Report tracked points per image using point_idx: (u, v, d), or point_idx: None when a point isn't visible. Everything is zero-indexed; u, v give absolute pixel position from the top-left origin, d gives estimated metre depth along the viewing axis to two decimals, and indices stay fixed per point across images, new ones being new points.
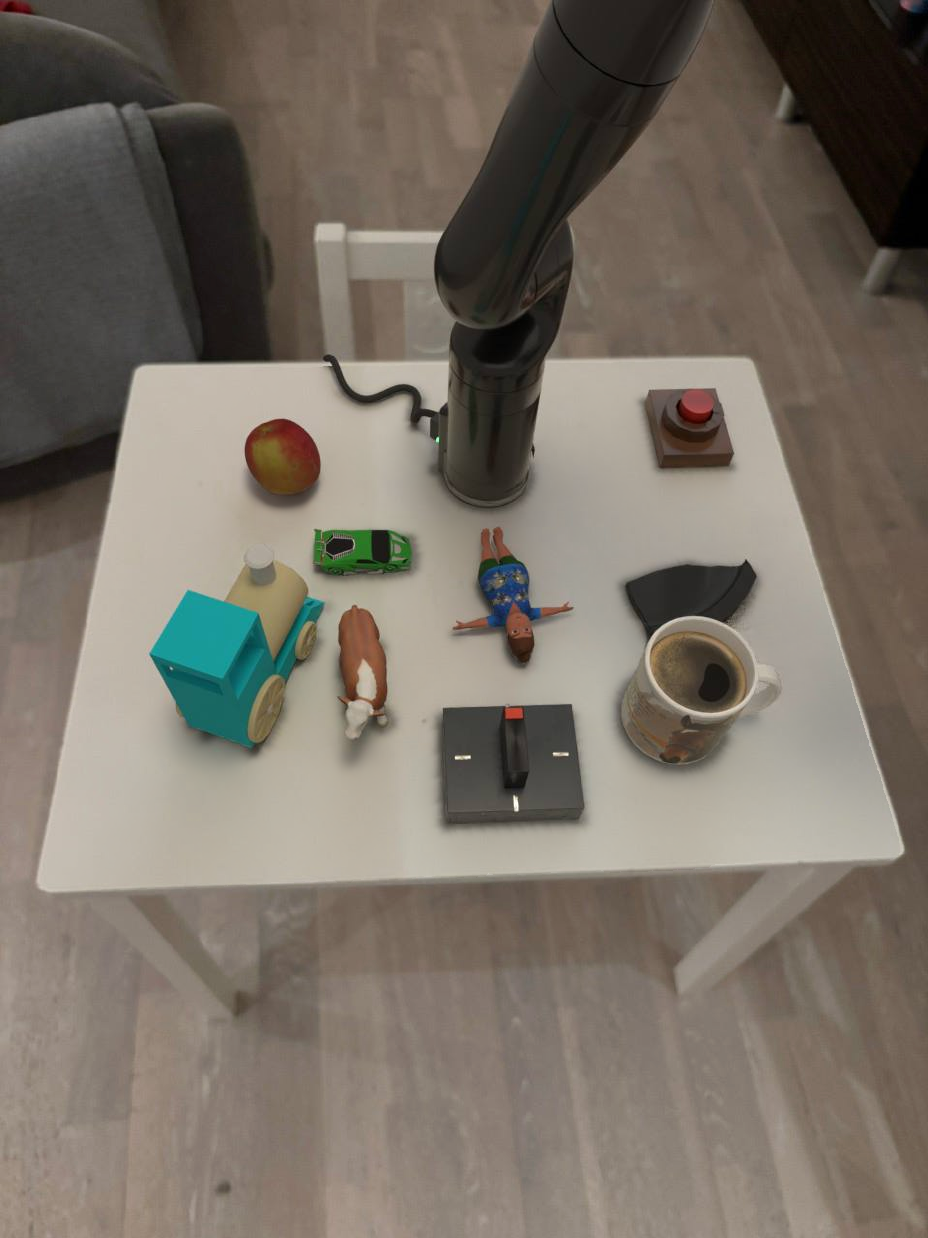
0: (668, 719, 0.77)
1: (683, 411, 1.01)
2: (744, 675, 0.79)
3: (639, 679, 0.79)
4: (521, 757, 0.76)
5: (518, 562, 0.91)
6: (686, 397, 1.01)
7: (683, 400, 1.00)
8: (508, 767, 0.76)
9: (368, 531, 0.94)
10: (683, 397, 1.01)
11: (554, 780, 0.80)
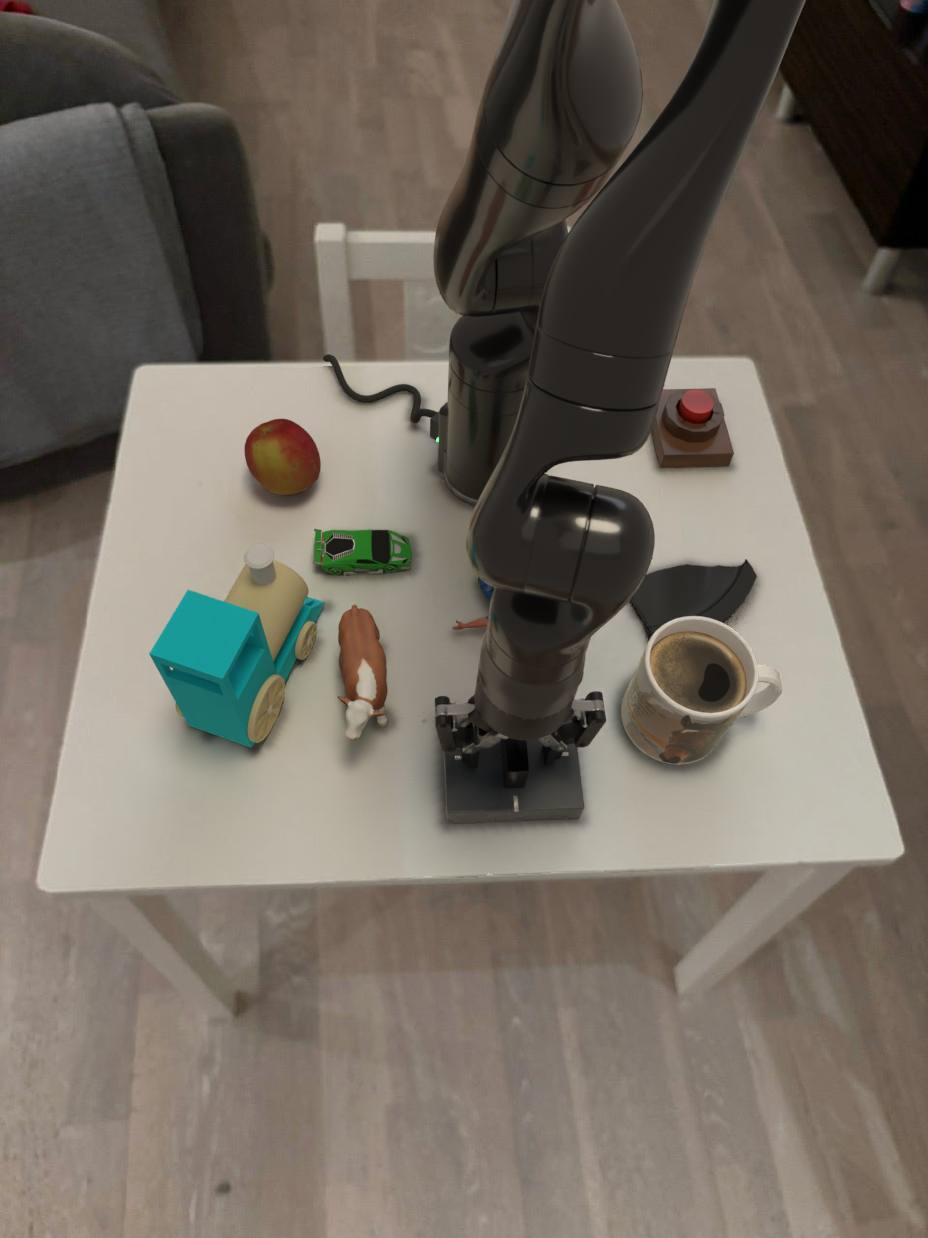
0: (668, 719, 0.77)
1: (683, 411, 1.01)
2: (744, 675, 0.79)
3: (639, 679, 0.79)
4: (521, 757, 0.76)
5: None
6: (686, 397, 1.01)
7: (683, 400, 1.00)
8: (508, 767, 0.76)
9: (368, 531, 0.94)
10: (683, 397, 1.01)
11: (554, 780, 0.80)
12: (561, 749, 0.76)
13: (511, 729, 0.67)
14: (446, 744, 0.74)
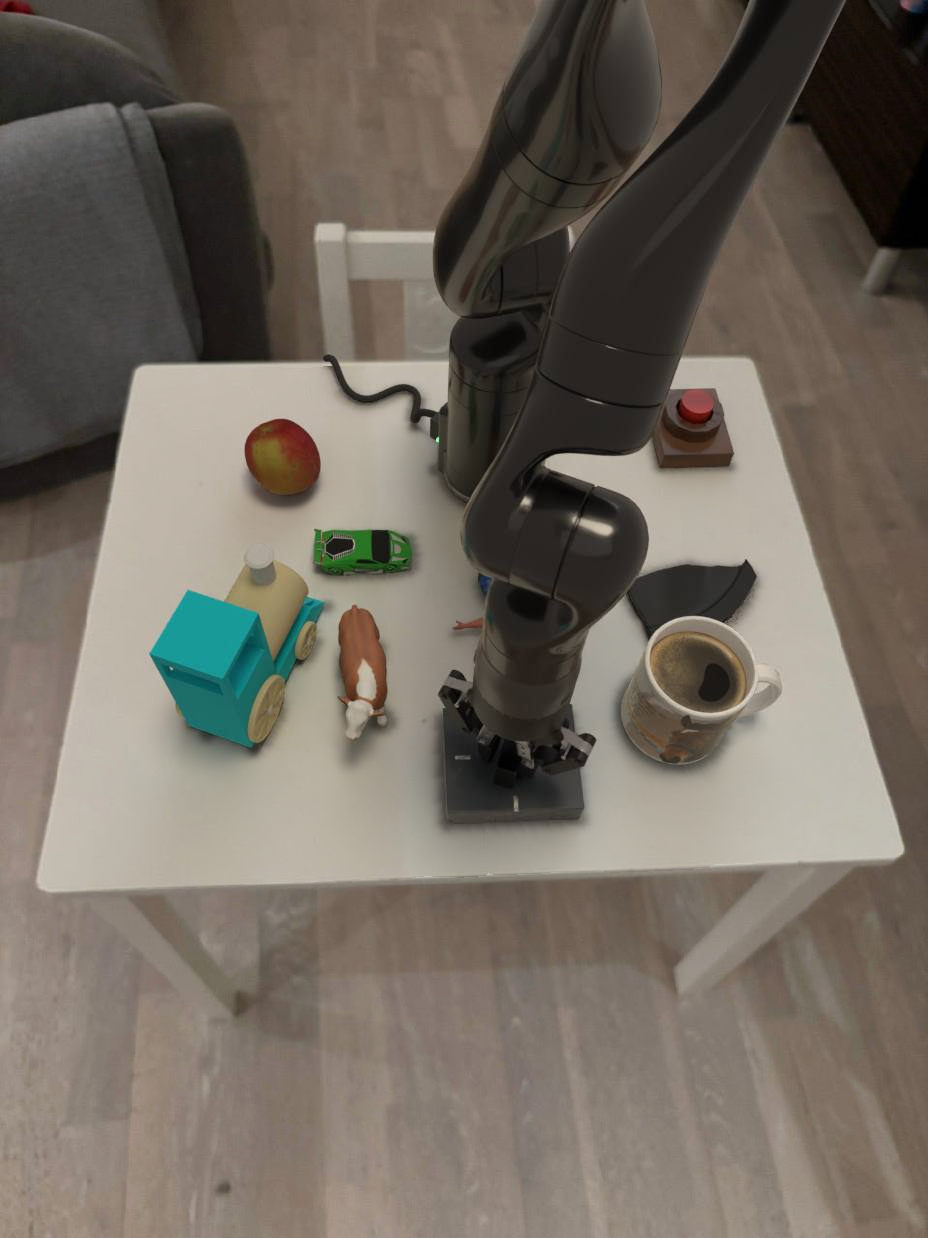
0: (668, 719, 0.77)
1: (683, 411, 1.01)
2: (744, 675, 0.79)
3: (639, 679, 0.79)
4: (514, 758, 0.76)
5: None
6: (686, 397, 1.01)
7: (683, 400, 1.00)
8: (498, 762, 0.76)
9: (368, 531, 0.94)
10: (683, 397, 1.01)
11: (554, 780, 0.80)
12: (528, 766, 0.76)
13: (485, 716, 0.67)
14: (458, 722, 0.76)
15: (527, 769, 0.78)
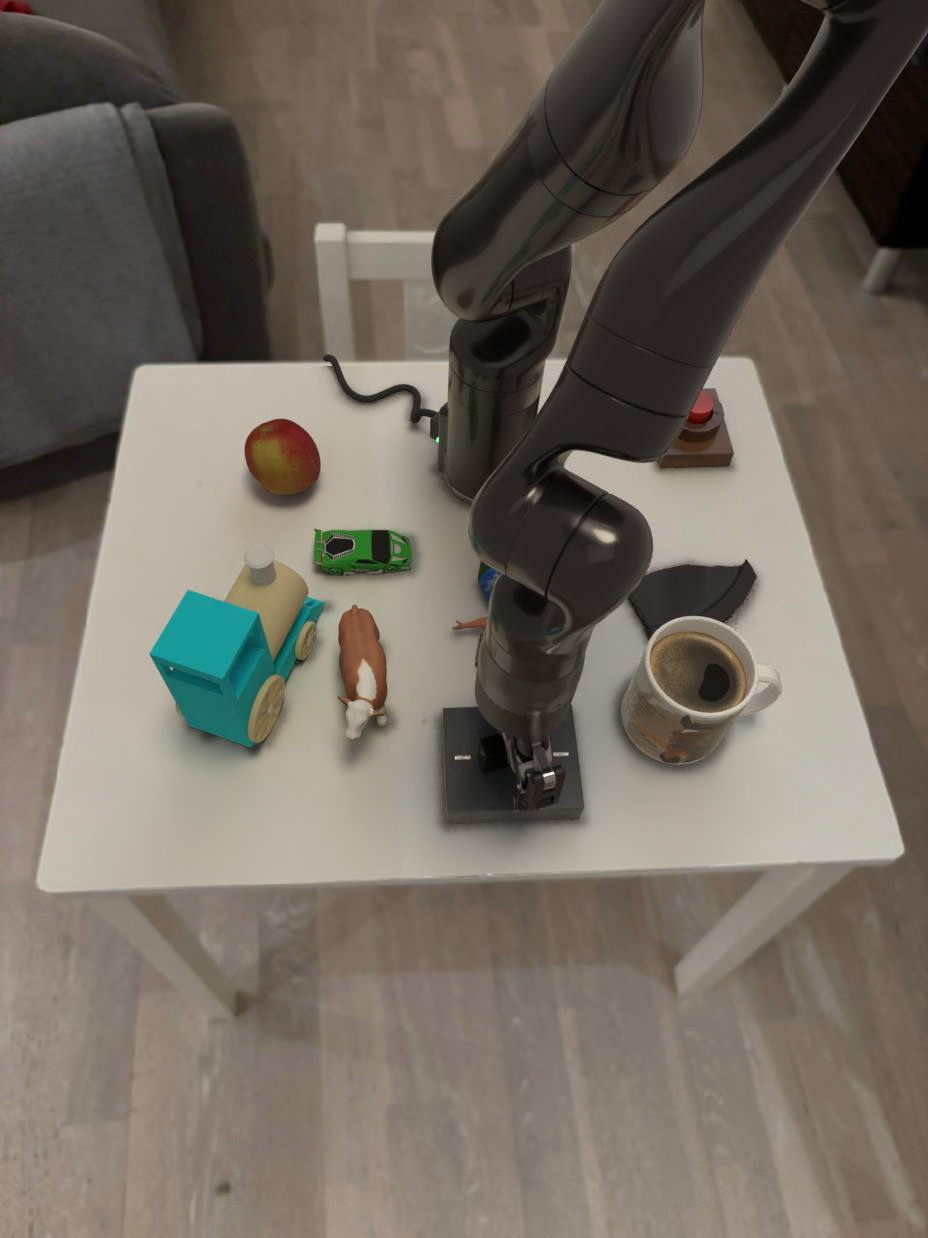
0: (668, 719, 0.77)
1: None
2: (744, 675, 0.79)
3: (639, 679, 0.79)
4: (498, 747, 0.77)
5: None
6: None
7: None
8: (484, 738, 0.77)
9: (368, 531, 0.94)
10: None
11: None
12: (518, 787, 0.73)
13: None
14: (477, 658, 0.77)
15: (522, 794, 0.76)
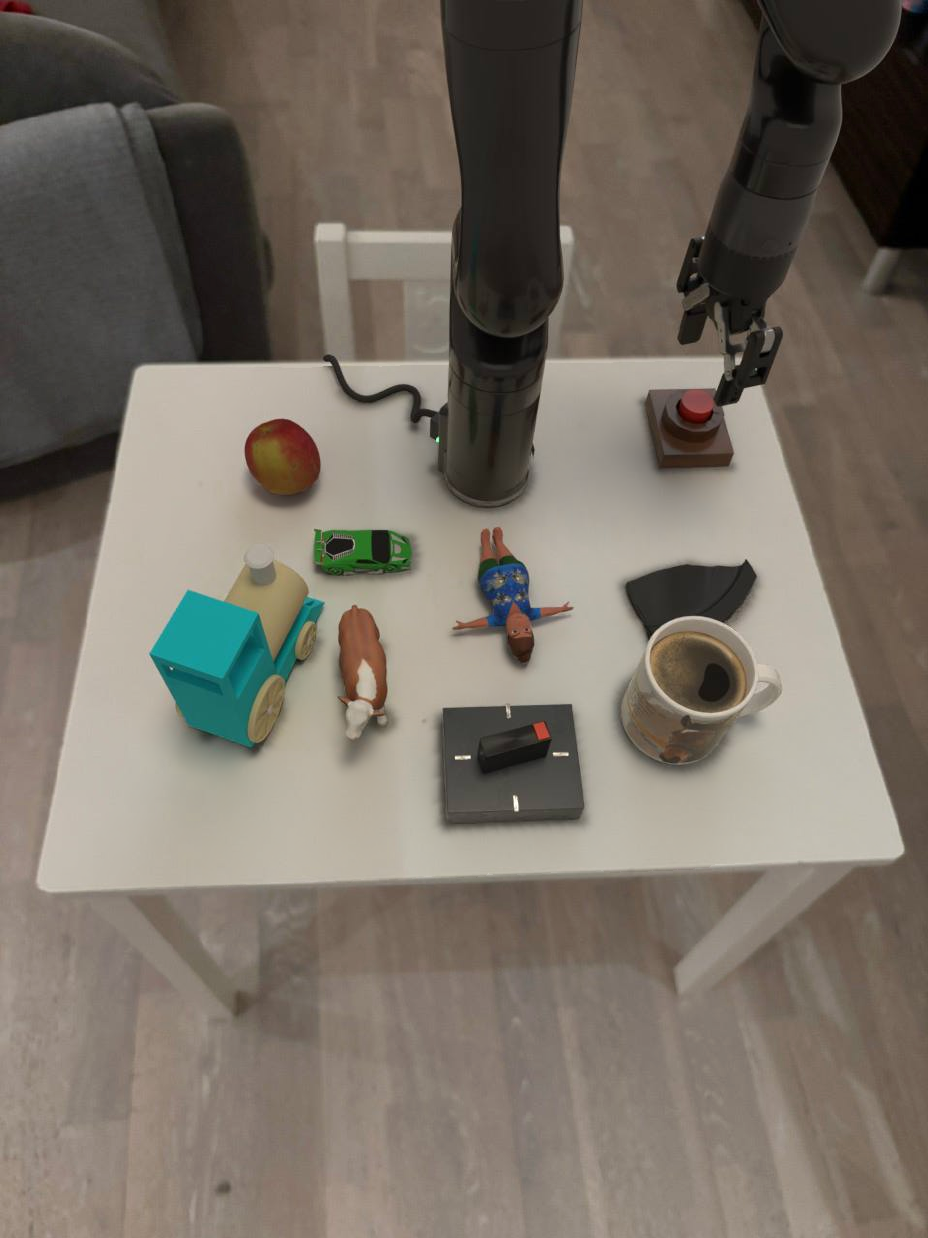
0: (668, 719, 0.77)
1: (683, 411, 1.01)
2: (744, 675, 0.79)
3: (639, 679, 0.79)
4: (498, 747, 0.77)
5: (518, 562, 0.91)
6: (686, 397, 1.01)
7: (683, 400, 1.00)
8: (484, 738, 0.77)
9: (368, 531, 0.94)
10: (683, 397, 1.01)
11: (554, 780, 0.80)
12: (727, 373, 0.81)
13: (702, 247, 0.76)
14: (681, 276, 0.85)
15: (726, 390, 0.83)
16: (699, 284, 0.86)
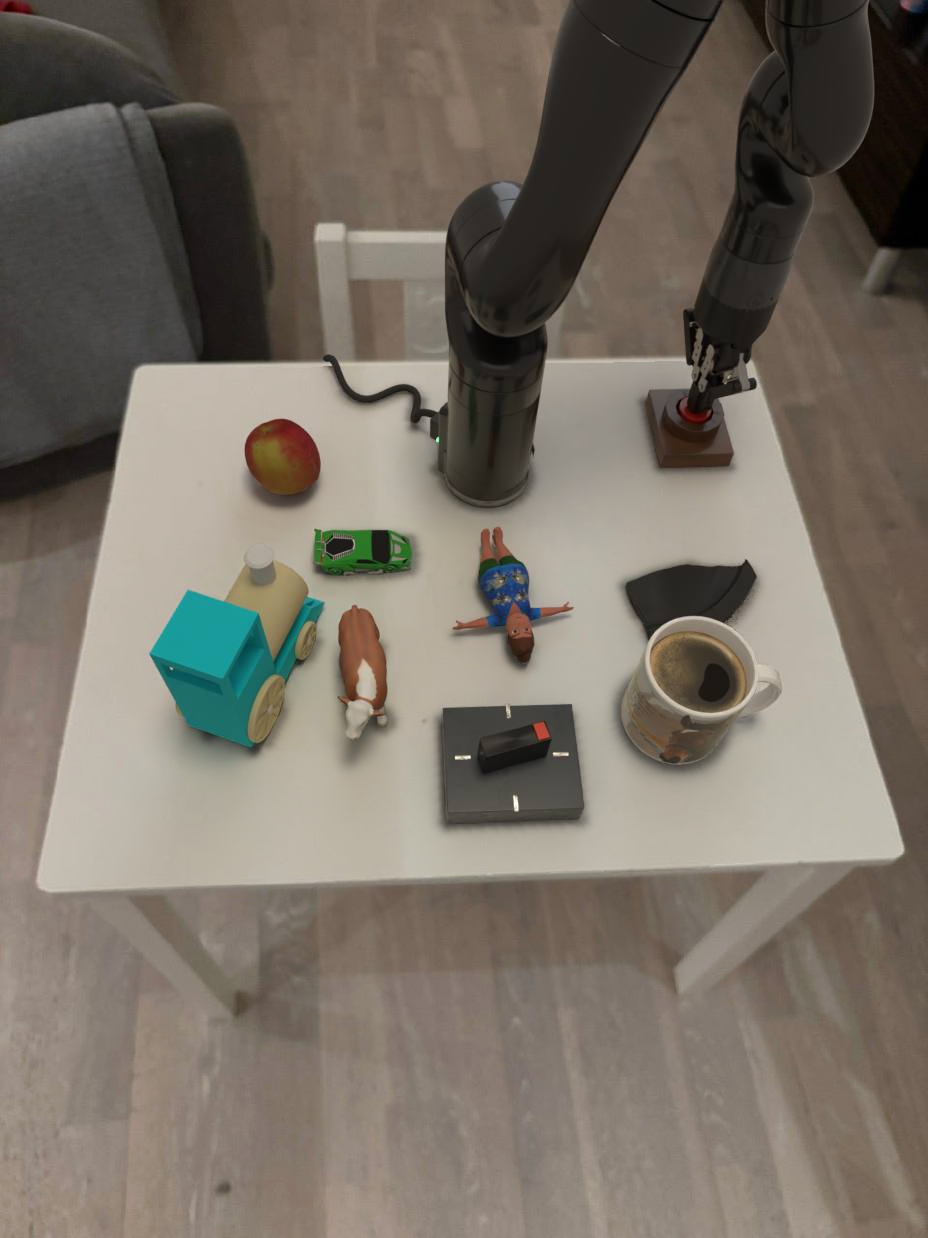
0: (668, 719, 0.77)
1: (681, 417, 1.02)
2: (744, 675, 0.79)
3: (639, 679, 0.79)
4: (498, 747, 0.77)
5: (518, 562, 0.91)
6: (684, 403, 1.02)
7: (681, 406, 1.01)
8: (484, 738, 0.77)
9: (368, 531, 0.94)
10: (681, 403, 1.02)
11: (554, 780, 0.80)
12: (700, 387, 0.97)
13: (697, 299, 0.89)
14: (687, 349, 0.98)
15: (699, 400, 0.99)
16: None
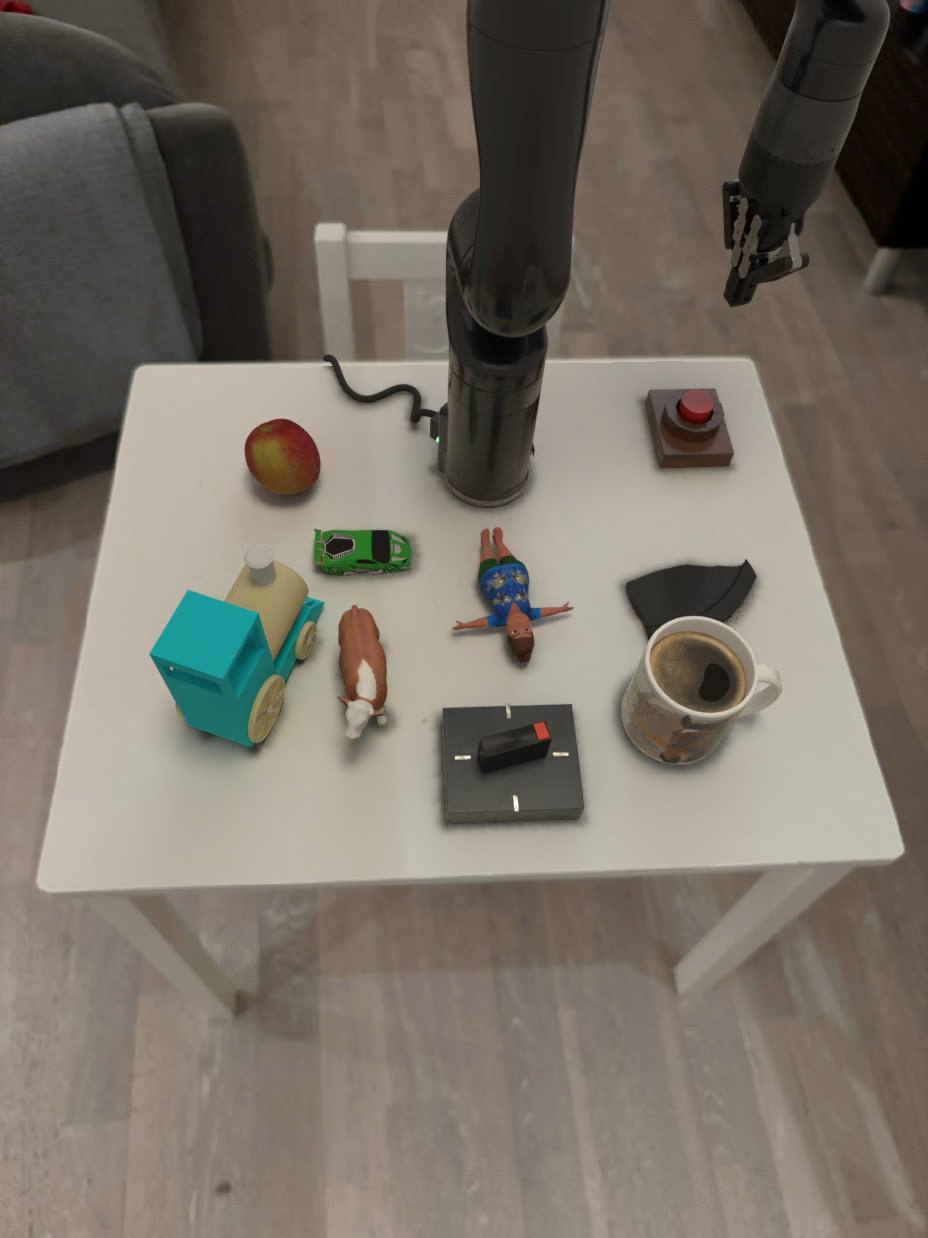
0: (668, 719, 0.77)
1: (683, 411, 1.01)
2: (744, 675, 0.79)
3: (639, 679, 0.79)
4: (498, 747, 0.77)
5: (518, 562, 0.91)
6: (686, 397, 1.01)
7: (683, 400, 1.00)
8: (484, 738, 0.77)
9: (368, 531, 0.94)
10: (683, 397, 1.01)
11: (554, 780, 0.80)
12: (741, 272, 0.85)
13: (743, 158, 0.77)
14: (726, 230, 0.86)
15: (739, 289, 0.88)
16: None
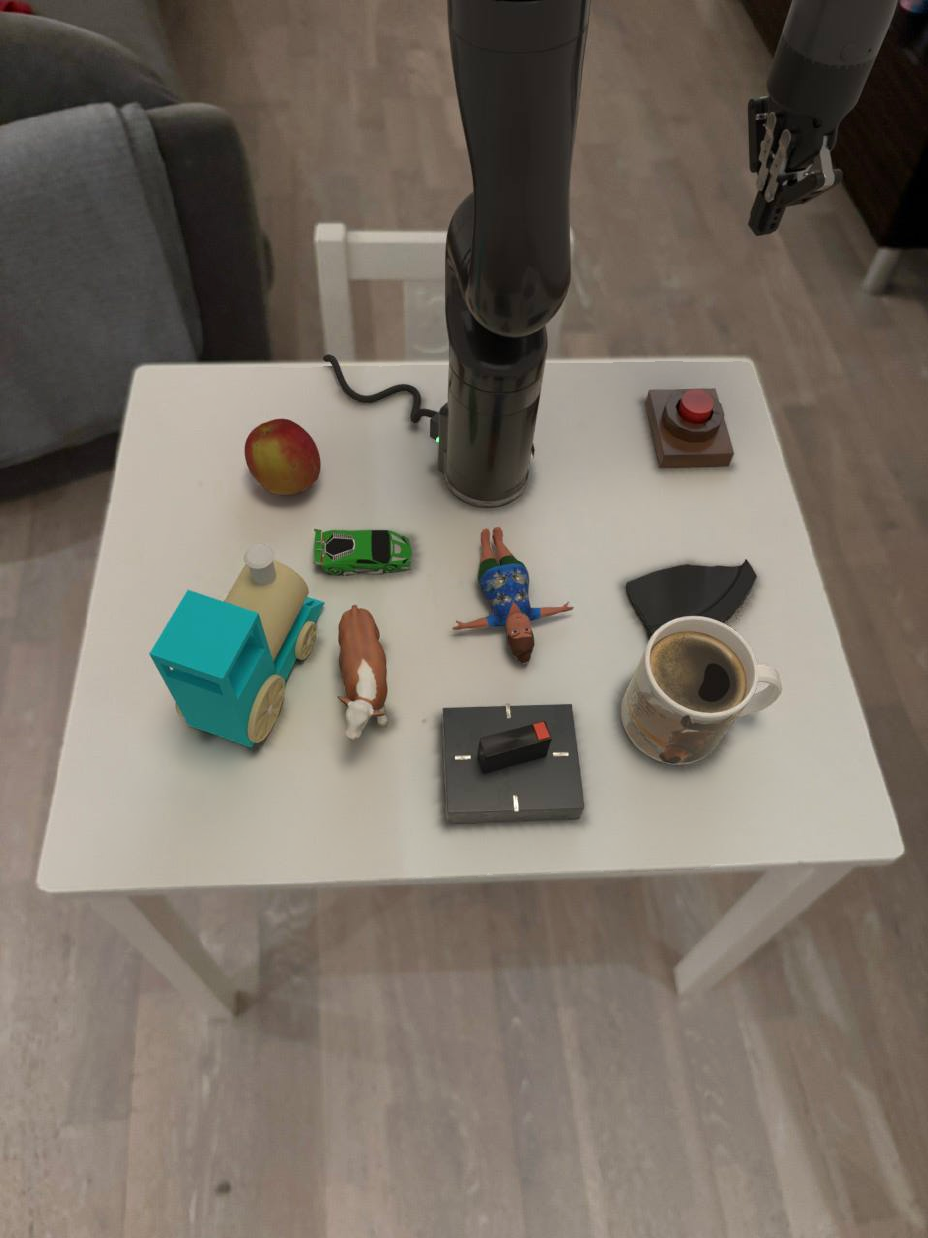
0: (668, 719, 0.77)
1: (683, 411, 1.01)
2: (744, 675, 0.79)
3: (639, 679, 0.79)
4: (498, 747, 0.77)
5: (518, 562, 0.91)
6: (686, 397, 1.01)
7: (683, 400, 1.00)
8: (484, 738, 0.77)
9: (368, 531, 0.94)
10: (683, 397, 1.01)
11: (554, 780, 0.80)
12: (768, 195, 0.81)
13: (773, 66, 0.72)
14: (752, 152, 0.82)
15: (765, 215, 0.83)
16: None
